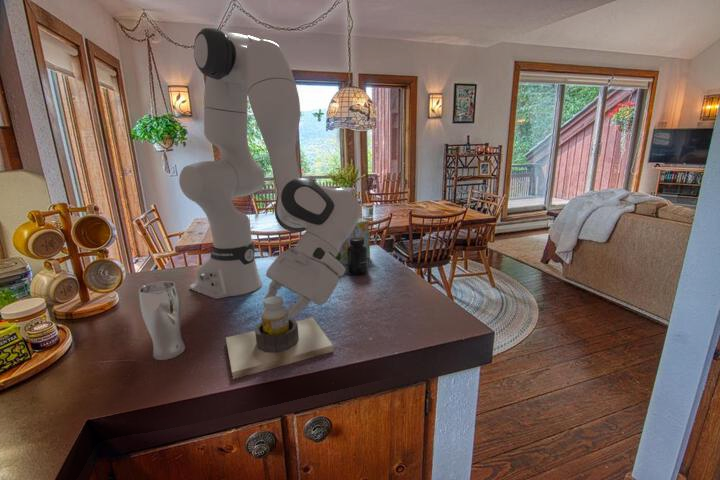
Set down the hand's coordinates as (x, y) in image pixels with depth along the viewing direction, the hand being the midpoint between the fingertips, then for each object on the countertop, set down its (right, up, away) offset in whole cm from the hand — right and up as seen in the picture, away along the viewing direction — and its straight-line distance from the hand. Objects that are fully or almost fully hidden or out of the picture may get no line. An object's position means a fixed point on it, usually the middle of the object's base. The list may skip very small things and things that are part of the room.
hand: (278, 308), depth 73 cm
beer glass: (-24, -10, +1) cm, 26 cm away
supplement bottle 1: (-1, -7, +1) cm, 8 cm away
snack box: (+11, +6, +57) cm, 58 cm away
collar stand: (0, -9, +2) cm, 9 cm away
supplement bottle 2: (+17, +3, +46) cm, 49 cm away
